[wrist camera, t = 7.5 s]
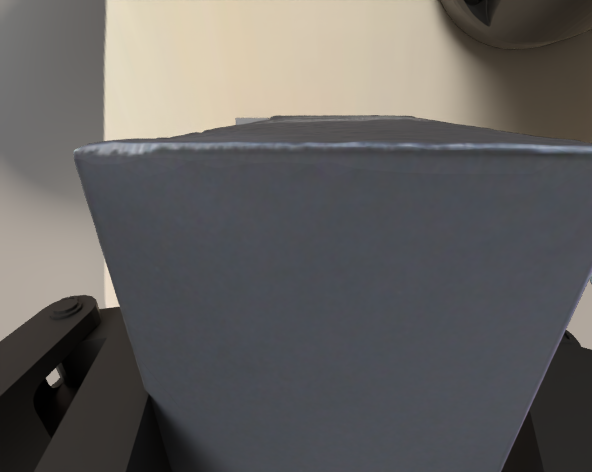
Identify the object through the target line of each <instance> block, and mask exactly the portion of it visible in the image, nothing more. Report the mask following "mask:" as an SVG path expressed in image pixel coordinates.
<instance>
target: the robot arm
mask: <svg viewBox="0 0 592 472" xmlns="http://www.w3.org/2000/svg"><path fill="white" fill-rule="evenodd" d="M441 2H442V4H443V7H444V8H445V10H446V12H447V13H448V15H449V16H450V17H451V19H452V20H453V21H454V22H455V24H456V25H457V26H458V27H459V28H460V29H461V30H462V31H464V32H465V33H466V34H468V35H469V36H471V37H472V38H474V39H476V40H478V41H480V42H482V43H484V44H487V45H490V46H494V47H498V48H505V49H527V48H534V47H539V46H543V45H547V44H550V43H554V42H557V41H561V40H564V39H567V38H570V37H573V36H576V35H579V34H581V33H583V32H586V31H588V30H590V29H592V0H441ZM590 282H591V284H592V274H591V277H590ZM55 368H56V369H57V371H58V373H59V375H60V378H59V380H58V381H57V382H56V383H54V384H53V385H52V386H50V385H49V384H48V382H47V380H46V377H47V376H48V375H49V374H50V373H51V371H53V370H54V369H55ZM0 472H172V470H171V467H170V464H169V460H168V457H167V453H166V450H165V446H164V443H163V440H162V437H161V433H160V430H159V426H158V422H157V419H156V416H155V413H154V409H153V406H152V402H151V399H150V396H149V393H148V392H147V391H146V390H145V388H144V384H143V381H142V377H141V374H140V371H139V368H138V364H137V361H136V358H135V355H134V351H133V348H132V345H131V342H130V339H129V336H128V333H127V329H126V325H125V322H124V319H123V316H122V312H121V309H120V307H114V308H106V309H99V307H98V304H97V301H96V299H94V298H93V297H92V296H87V295H80V296H70V297H69V298H68V297H67V298H63V299H61V300H60V301H57V302H54V303H52V304H51V305H49V306H47V307H46V308H44V309H42V310H41V311H40V312H39V313H37V314H36V315H35V316H34V317H32V318H31V319H29V320H28V321H27V322H25V323H24V324H23V325H21V326H20V327H19V328H18V329H16V330H15V331H14V332H13V333H11V334H10V335H9V336H7V337H6V338H4V339H3V340H2V341H0ZM501 472H592V350H590V349H587V348H583V347H581V345H580V343H579V342H578V341H577V340H576V338H575V337H574V336H573V335H572V334H571V333H570V332H568V331H567V330H565V332H564V335H563V337H562V339H561V341H560V343H559V345H558V347H557V350H556V352H555V354H554V356H553V358H552V360H551V362H550V365H549V367H548V369H547V371H546V373H545V376H544V378H543V380H542V382H541V384H540V387H539V389H538V391H537V393H536V395H535V398H534V400H533V402H532V404H531V406H530V409H529V411H528V413H527V415H526V417H525V420H524V422H523V424H522V426H521V428H520V431H519V433H518V435H517V437H516V439H515V442H514V444H513V446H512V448H511V450H510V453H509V455H508V457H507V459H506V462H505V464H504V466H503V468H502V470H501Z"/></svg>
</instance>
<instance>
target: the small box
mask: <svg viewBox="0 0 592 472" xmlns="http://www.w3.org/2000/svg"><path fill="white" fill-rule="evenodd" d="M74 160H75V164H76V169H77V171H78V174H79V177H80V180H81V184H82V188H83V191H84V195H85V198H86V201H87V203H88V206H89V210H90V212H91V216H92V218H93V222H94V225H95V228H96V232H97V235H98V239H99V243H100V246H101V249H102V252H103V255H104V258H105V261H106V264H107V267H108V270H109V273H110V276H111V280H112V283H113V286H114V290H115V293H116V296H117V299H118V302H119V305H120V309H121V312H122V316H123V319H124V322H125V325H126V329H127V333H128V336H129V339H130V342H131V345H132V348H133V351H134V355H135V358H136V361H137V364H138V368H139V371H140V374H141V377H142V381H143V384H144V388H145V390H146V391H147V392H148V393H149V396H150V399H151V402H152V406H153V409H154V413H155V416H156V419H157V422H158V426H159V430H160V433H161V437H162V440H163V443H164V446H165V450H166V453H167V457H168V460H169V464H170V467H171V470H172V472H501V470H502V468H503V466H504V464H505V462H506V459H507V457H508V455H509V453H510V450H511V448H512V446H513V444H514V442H515V439H516V437H517V435H518V433H519V431H520V428H521V426H522V424H523V422H524V420H525V417H526V415H527V413H528V411H529V409H530V406H531V404H532V402H533V400H534V398H535V395H536V393H537V391H538V389H539V387H540V384H541V382H542V380H543V378H544V376H545V373H546V371H547V369H548V367H549V365H550V362H551V360H552V358H553V356H554V354H555V352H556V350H557V347H558V345H559V343H560V341H561V339H562V337H563V335H564V332H565V330H566V328H567V326H568V323H569V322H570V319H571V317H572V315H573V313H574V311H575V309H576V307H577V304H578V302H579V300H580V298H581V296H582V294H583V291H584V289H585V287H586V285H587V283H588V281H589V279H590V277H591V274H592V143H585V142H581V141H577V140H569V139H557V138H545V137H536V136H531V135H525V134H518V133H510V132H505V131H497V130H493V129H488V128H480V127H475V126H466V125H459V124H452V123H446V122H440V121H435V120H428V119H422V118H415V117H412V116H379V115H371V116H273V117H271V118H270V119H269V120H262V121H256V122H252V123H247V124H241V125H234V126H228V127H220V128H215V129H211V130H205V131H203V132H202V133H198V132H195V133H190V134H185V135H181V136H175V137H171V138H156V139H124V140H112V141H103V142H97V143H90V144H87V145H84V146H82V147H79V148H78V149H76V150H74Z"/></svg>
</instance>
